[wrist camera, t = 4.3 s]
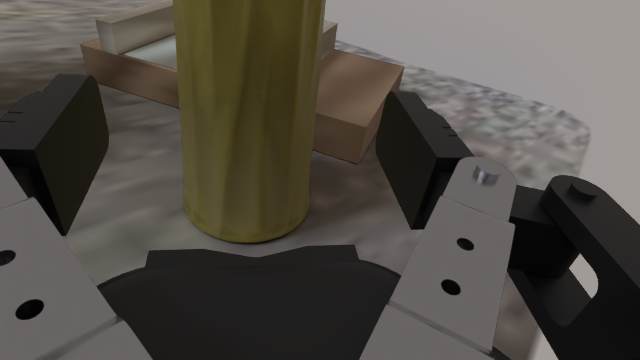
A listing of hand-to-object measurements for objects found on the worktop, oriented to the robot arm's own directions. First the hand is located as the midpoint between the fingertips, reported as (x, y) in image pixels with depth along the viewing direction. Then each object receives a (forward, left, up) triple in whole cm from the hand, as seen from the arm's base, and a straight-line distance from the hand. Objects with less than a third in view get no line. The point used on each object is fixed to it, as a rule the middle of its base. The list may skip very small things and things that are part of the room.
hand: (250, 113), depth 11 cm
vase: (-2, +4, -8) cm, 9 cm away
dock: (-8, +16, -8) cm, 19 cm away
